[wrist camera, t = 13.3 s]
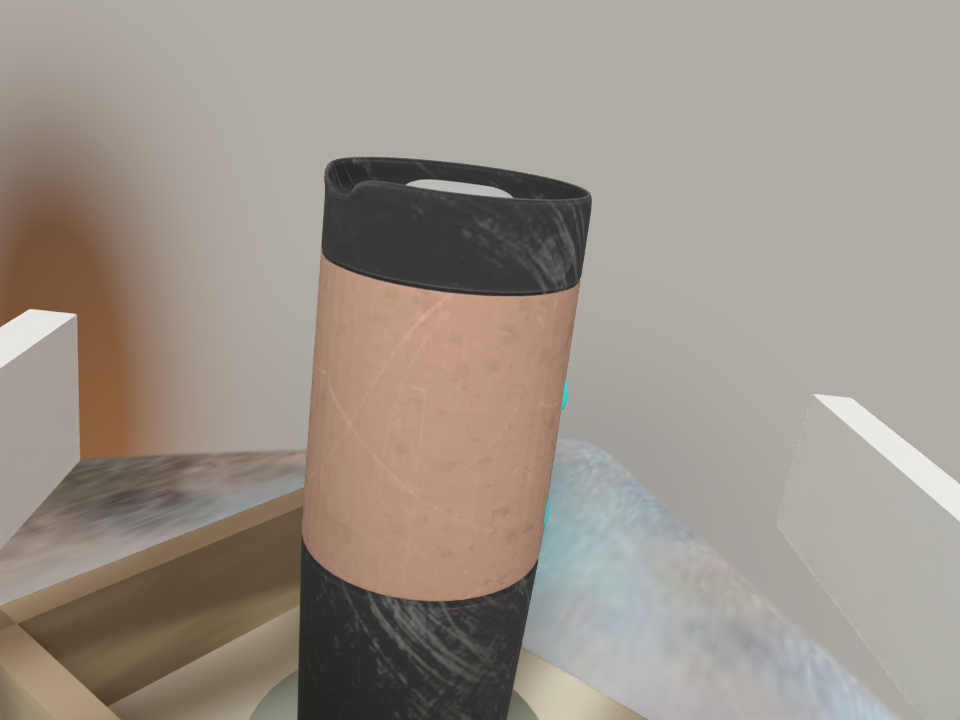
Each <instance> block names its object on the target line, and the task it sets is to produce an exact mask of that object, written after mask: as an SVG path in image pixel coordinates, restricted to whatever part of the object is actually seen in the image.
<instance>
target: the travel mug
mask: <svg viewBox="0 0 960 720" xmlns="http://www.w3.org/2000/svg"><path fill="white" fill-rule="evenodd" d="M324 179H325V180H324V181H325V203H324V218H323V231H322V250H321V261H320V275H319V291H318V303H317V317H316V332H315V347H314V361H313V374H312V389H311V404H310V417H309V432H308V445H307V460H306V474H305V488H304V502H303V516H302V538H301V579H300V622H299V665H298V708H297V720H507V716H508V711H509V706H510V701H511V696H512V691H513V686H514V681H515V676H516V670H517V665H518V660H519V655H520V650H521V645H522V640H523V635H524V630H525V625H526V620H527V615H528V610H529V605H530V600H531V595H532V589H533V584H534V579H535V574H536V569H537V564H538V556H539V552H540V548H541V541H542V534H543V528H544V521H545V514H546V508H547V501H548V494H549V488H550V481H551V474H552V468H553V461H554V454H555V448H556V441H557V434H558V427H559V421H560V414H561V407H562V401H563V394H564V387H565V381H566V374H567V367H568V361H569V354H570V347H571V340H572V334H573V327H574V320H575V314H576V307H577V301H578V294H579V287H580V278H581V274H582V267H583V260H584V254H585V247H586V241H587V234H588V227H589V221H590V214H591V204H592V202H591V201H592V198H591V194H590V193H589V192H588V191H587V190H586V189H583V188H582V187H579V186H576V185H573V184H570V183H567V182H563V181H560V180H556V179H551V178H547V177H542V176H538V175H533V174H527V173H522V172H516V171H511V170H504V169H498V168H491V167H484V166H477V165H469V164H461V163H452V162H443V161H433V160H422V159H407V158H389V157H351V158H341V159H336V160H333V161H331V162H330V163H329V164H328V165H327V167H326V170H325V176H324Z"/></svg>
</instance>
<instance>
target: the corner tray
mask: <svg viewBox="0 0 960 720" xmlns="http://www.w3.org/2000/svg"><path fill="white" fill-rule="evenodd" d="M304 488H305V487H304ZM304 488H302V489H299V490H296V491H294V492H291V493H289V494H286V495H284V496H281V497H278V498H276V499H273V500H271V501H268V502H266V503H263V504H260V505H258V506H255V507H253V508H250V509H248V510H245V511H243V512H240V513H237V514H235V515H232V516H230V517H227V518H225V519H222V520H219V521H217V522H214V523H212V524H209V525H207V526H204V527H201V528H199V529H196V530H194V531H191V532H189V533H186V534H184V535H181V536H178V537H176V538H173V539H171V540H168V541H166V542H163V543H160V544H158V545H155V546H153V547H150V548H148V549H145V550H142V551H140V552H137V553H135V554H132V555H130V556H127V557H125V558H122V559H119V560H117V561H114V562H112V563H109V564H107V565H104V566H101V567H99V568H96V569H94V570H91V571H89V572H86V573H83V574H81V575H78V576H76V577H73V578H71V579H68V580H66V581H63V582H60V583H58V584H55V585H53V586H50V587H48V588H45V589H42V590H40V591H37V592H35V593H32V594H30V595H27V596H24V597H22V598H19V599H17V600H14V601H12V602H9V603H7V604H4V605H1V606H0V720H297V708H298V665H299V622H300V579H301V538H302V516H303V502H304ZM507 720H647V719H646V718H644V717H642V716H640V715H639V714H637V713H635V712H633V711H632V710H630V709H628V708H627V707H625V706H623V705H621V704H620V703H618V702H616V701H614V700H613V699H611V698H609V697H607V696H606V695H604V694H602V693H600V692H599V691H597V690H595V689H593V688H592V687H590V686H588V685H587V684H585V683H583V682H581V681H580V680H578V679H576V678H574V677H573V676H571V675H569V674H567V673H566V672H564V671H562V670H560V669H559V668H557V667H555V666H553V665H552V664H550V663H548V662H547V661H545V660H543V659H541V658H540V657H538V656H536V655H534V654H533V653H531V652H529V651H527V650H526V649H524V648H522V647H521V650H520V655H519V660H518V665H517V670H516V676H515V681H514V686H513V691H512V696H511V701H510V706H509V711H508V716H507Z"/></svg>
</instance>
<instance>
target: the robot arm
mask: <svg viewBox="0 0 960 720" xmlns="http://www.w3.org/2000/svg"><path fill="white" fill-rule="evenodd" d="M78 390H79V389H78V342H77V314H70V313H61V312H52V311H42V310H33V309H30V310H28V311H26V312H25V313H23V314H21V315H20V316H18V317H17V318H15V319H13V320H11V321H10V322H8V323H7V324H5V325H3V326H2V327H0V550H1V549H2V548H3V546H4V545H5V544H6V543H7V542H8V541H9V540H10V539H11V537H12V536H13V535H14V534H15V533H16V532H17V531H18V530H19V528H20V527H21V526H22V525H23V524H24V523H25V522H26V520H27V519H28V518H29V517H30V516H31V515H32V514H33V513H34V511H35V510H36V509H37V508H38V507H39V506H40V505H41V504H42V502H43V501H44V500H45V499H46V498H47V497H48V496H49V495H50V493H51V492H52V491H53V490H54V489H55V488H56V487H57V486H58V484H59V483H60V482H61V481H62V480H63V479H64V478H65V477H66V475H67V474H68V473H69V472H70V471H71V470H72V469H73V468H74V466H75V465H76V464H77V463H78V462H79V461H80V440H79V439H80V436H79V391H78ZM776 526H777V527H778V528H779V530H780V531H781V532H782V534H783V535H784V536H785V538H786V539H787V540H788V542H789V543H790V544H791V546H792V547H793V548H794V550H795V551H796V552H797V554H798V555H799V556H800V558H801V559H802V560H803V562H804V563H805V564H806V566H807V567H808V568H809V570H810V571H811V572H812V574H813V575H814V576H815V578H816V579H817V580H818V582H819V583H820V584H821V586H822V587H823V588H824V590H825V591H826V592H827V594H828V595H829V596H830V598H831V599H832V600H833V602H834V603H835V604H836V606H837V607H838V608H839V610H840V611H841V613H842V614H843V615H844V617H845V618H846V619H847V620H848V622H849V623H850V625H851V626H852V627H853V628H854V630H855V631H856V633H857V634H858V635H859V636H860V638H861V639H862V640H863V642H864V643H865V645H866V646H867V647H868V648H869V650H870V651H871V653H872V654H873V655H874V657H875V658H876V659H877V661H878V662H879V663H880V665H881V666H882V667H883V669H884V670H885V671H886V672H887V674H888V675H889V677H890V678H891V679H892V681H893V682H894V683H895V685H896V686H897V687H898V689H899V690H900V691H901V692H902V694H903V695H904V696H905V698H906V699H907V701H908V702H909V703H910V705H911V706H912V707H913V709H914V710H915V711H916V712H917V714H918V715H919V717H920V718H921V719H922V720H960V484H959V483H958V482H956V481H955V480H954V479H952V478H951V477H950V476H949V475H947V474H946V473H945V472H944V471H942V470H941V469H940V468H939V467H938V466H936V465H935V464H934V463H932V462H931V461H930V460H929V459H927V458H926V457H925V456H923V455H922V454H921V453H920V452H919V451H917V450H916V449H915V448H914V447H912V446H911V445H910V444H909V443H907V442H906V441H905V440H904V439H902V438H901V437H900V436H898V435H897V434H896V433H895V432H893V431H892V430H891V429H890V428H888V427H887V426H886V425H885V424H883V423H882V422H881V421H880V420H878V419H877V418H876V417H874V416H873V415H872V414H870V413H869V412H868V411H867V410H866V409H864V408H863V407H862V406H861V405H859V404H858V403H857V402H856V401H854V400H853V399H852V398H846V397H836V396H828V395H818V394H812V396H811V399H810V403H809V406H808V410H807V414H806V417H805V421H804V425H803V428H802V431H801V435H800V439H799V443H798V446H797V450H796V453H795V457H794V460H793V464H792V467H791V471H790V475H789V479H788V482H787V486H786V489H785V493H784V496H783V500H782V503H781V507H780V511H779V514H778V518H777V521H776Z"/></svg>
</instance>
